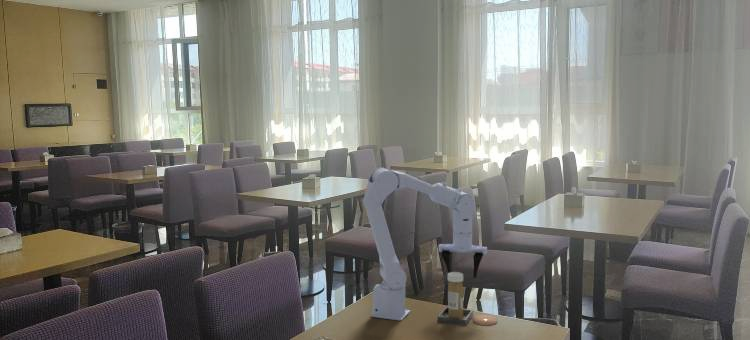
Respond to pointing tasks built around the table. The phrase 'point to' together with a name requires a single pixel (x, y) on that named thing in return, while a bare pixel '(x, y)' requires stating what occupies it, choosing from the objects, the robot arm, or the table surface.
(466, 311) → the square socket
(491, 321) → the terracotta coaster
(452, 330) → the table surface
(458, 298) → the sprinkles bottle
